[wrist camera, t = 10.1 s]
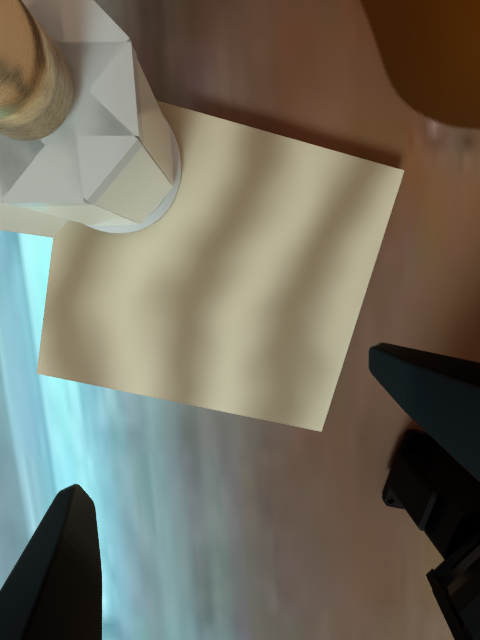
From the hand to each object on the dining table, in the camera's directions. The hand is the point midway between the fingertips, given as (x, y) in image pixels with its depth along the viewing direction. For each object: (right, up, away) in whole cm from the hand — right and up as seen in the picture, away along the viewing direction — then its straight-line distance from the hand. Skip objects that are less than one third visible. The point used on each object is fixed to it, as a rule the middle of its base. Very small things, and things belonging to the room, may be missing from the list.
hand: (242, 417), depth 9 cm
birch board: (-2, +6, +11) cm, 13 cm away
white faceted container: (-8, +11, +9) cm, 17 cm away
